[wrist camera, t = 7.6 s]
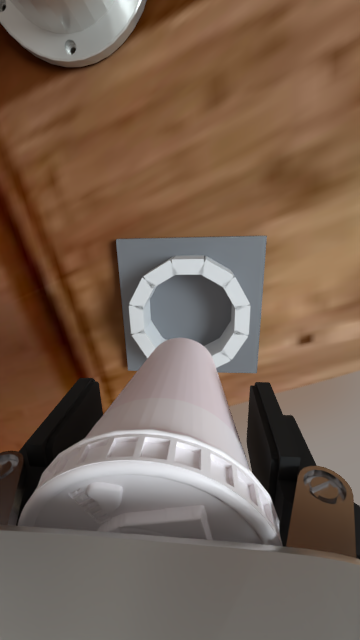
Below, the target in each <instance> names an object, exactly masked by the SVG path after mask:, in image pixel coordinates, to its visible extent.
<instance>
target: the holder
mask: <svg viewBox="0 0 360 640" xmlns="http://www.w3.org/2000/svg"><path fill="white" fill-rule="evenodd" d="M266 238H267V236H227V237H181V238H135V239H116V245H117V256H118V267H119V277H120V288H121V299H122V310H123V320H124V331H125V342H126V352H127V363H128V370H132V371H138V370H139V369H140V367H141V366H142V365H143V364H144V362H145V361H146V360H147V359H148V357H149V356H150V355H151V353H152V352H153V351H154V350H155V348H156V347H157V346H158V345H160V344H161V343H163V342H164V341H167V340H169V339H173V338H188V339H191V340H194V341H196V342H198V343H200V344H201V345H203V346H204V347H205V348H206V349H207V350H208V351H209V353H210V354H211V356H212V358H213V361H214V364H215V367H216V370H217V372H228V373H257V363H258V349H259V335H260V321H261V307H262V293H263V280H264V266H265V252H266Z"/></svg>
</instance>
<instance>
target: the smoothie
mask: <svg viewBox="0 0 360 640" xmlns="http://www.w3.org/2000/svg"><path fill="white" fill-rule="evenodd" d="M18 526H28V527H42V528H57V529H72V530H86V531H99V532H113V533H127V534H140V535H153V536H166V537H179V538H191V539H204V540H216V541H228V542H241V543H253V544H263V545H273V546H282V542H281V538H280V533H279V518H278V516H277V513H276V510H275V508H274V505H273V502H272V500H271V497H270V495H269V493H268V492H267V491H266V490H265V488H264V487H263V486H262V485H261V483H260V482H259V481H258V480H257V478H256V477H255V476H254V475H253V473H252V472H251V471H250V469H249V466H248V462H247V459H246V456H245V453H244V450H243V448H242V445H241V442H240V439H239V436H238V433H237V430H236V427H235V424H234V421H233V418H232V415H231V412H230V409H229V406H228V403H227V400H226V397H225V394H224V391H223V388H222V385H221V382H220V379H219V376H218V373H217V370H216V367H215V364H214V361H213V358H212V356H211V354H210V353H209V351H208V350H207V349H206V348H205V347H204V346H203V345H201V344H200V343H198V342H196V341H194V340H191V339H188V338H173V339H169V340H167V341H164V342H163V343H161V344H160V345H158V346H157V347H156V348H155V350H154V351H153V352H152V353H151V355H150V356H149V357H148V359H147V360H146V361H145V362H144V364H143V365H142V366H141V367H140V369H139V370H138V371H137V373H136V374H135V375H134V376H133V378H132V379H131V380H130V381H129V383H128V384H127V385H126V387H125V388H124V389H123V390H122V392H121V393H120V394H119V396H118V397H117V398H116V399H115V401H114V402H113V403H112V404H111V406H110V407H109V408H108V410H107V411H106V412H105V413H104V415H103V416H102V417H101V418H100V420H99V421H98V422H97V423H96V424H95V425H94V427H93V428H92V429H91V431H90V432H89V433H88V435H87V436H86V437H85V438H84V439H83V440H81V441H79V442H78V443H76V444H74V445H73V446H71V447H69V448H68V449H66V450H64V451H63V452H61V453H59V454H58V456H57V457H56V458H55V459H54V460H53V461H52V463H51V464H50V465H49V466H48V467H47V468H46V470H45V471H44V472H43V473H42V475H41V478H40V481H39V484H38V486H37V488H36V489H35V491H34V493H33V494H32V496H31V497H30V498H29V500H28V501H27V503H26V504H25V506H24V508H23V510H22V512H21V515H20V518H19V521H18Z"/></svg>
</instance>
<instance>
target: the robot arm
mask: <svg viewBox="0 0 360 640" xmlns="http://www.w3.org/2000/svg"><path fill="white" fill-rule="evenodd" d="M145 3H146V0H0V23H1V24H2V25H3V26H4V28H5V29H6V30H7V32H8V33H9V34H10V35H11V36H12V37H13V38H14V39H15V40H16V41H17V42H18V43H19V44H20V45H21V46H22V47H24V48H25V49H26V50H28V51H29V52H30V53H32V54H33V55H34V56H36V57H38V58H40V59H42V60H44V61H46V62H48V63H50V64H54V65H58V66H63V67H83V66H86V65H90V64H94V63H97V62H99V61H100V60H102V59H104V58H106V57H108V56H109V55H111V54H112V53H113V52H114V51H115V50H116V49H118V48H119V47H120V46H121V45H122V44H123V43H124V42H125V40H126V39H127V38H128V36H129V35H130V34H131V32H132V31H133V30H134V28H135V26H136V24H137V22H138V20H139V18H140V16H141V14H142V12H143V10H144V6H145ZM74 51H75V53H74V54H73V52H74ZM102 416H103V412H102V404H101V397H100V389H99V383H98V382H95V380H94V379H93V378H80V379H79V380H78V381H77V382H76V383H75V384H74V386H73V387H72V388H71V389H70V390H69V392H68V393H67V394H66V395H65V396H64V398H63V399H62V400H61V401H60V402H59V404H58V405H57V406H56V407H55V408H54V410H53V411H52V412H51V413H50V414H49V416H48V417H47V418H46V419H45V420H44V422H43V423H42V424H41V425H40V426H39V428H38V429H37V430H36V431H35V432H34V434H33V435H32V436H31V437H30V438H29V440H28V441H27V442H26V443H25V445H24V446H23V447H22V448H21V450H20V451H19V452H17V451H6V452H2V453H0V640H360V506H359V505H357V504H355V503H354V502H353V501H354V500H353V493H352V489H351V488H350V486H349V485H348V483H347V482H346V481H345V480H344V479H343V478H342V477H341V476H340V475H338V474H337V473H335V472H334V471H332V470H329V469H327V468H324V467H320V466H316V463H315V461H314V459H313V457H312V455H311V453H310V451H309V449H308V447H307V444H306V442H305V440H304V438H303V436H302V434H301V431H300V429H299V427H298V425H297V423H296V421H295V419H294V417H293V416H291V415H283V414H282V411H281V409H280V407H279V404H278V402H277V399H276V397H275V394H274V392H273V390H272V387H271V385H270V383H266V382H256V383H255V386H250V397H249V413H248V428H247V448H248V453H249V458H250V463H251V468H252V473H253V475H254V476H255V477H256V478H257V480H258V481H259V482H260V483H261V485H262V486H263V487H264V488H265V490H266V491H267V492H268V493H269V495H270V497H271V500H272V502H273V505H274V508H275V510H276V513H277V516H278V518H279V533H280V538H281V542H282V546H273V545H263V544H253V543H241V542H228V541H216V540H204V539H191V538H179V537H166V536H153V535H140V534H127V533H113V532H99V531H86V530H72V529H57V528H42V527H28V526H18V521H19V518H20V515H21V512H22V510H23V508H24V506H25V504H26V503H27V501H28V500H29V498H30V497H31V496H32V494H33V493H34V491H35V489H36V488H37V486H38V484H39V481H40V478H41V475H42V473H43V472H44V471H45V470H46V468H47V467H48V466H49V465H50V464H51V463H52V461H53V460H54V459H55V458H56V457H57V456H58V454H59V453H61V452H63V451H64V450H66V449H68V448H69V447H71V446H73V445H74V444H76V443H78V442H79V441H81V440H83V439H84V438H85V437H86V436H87V435H88V433H89V432H90V431H91V429H92V428H93V427H94V425H95V424H96V423H97V422H98V421H99V420H100V418H101V417H102Z"/></svg>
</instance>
